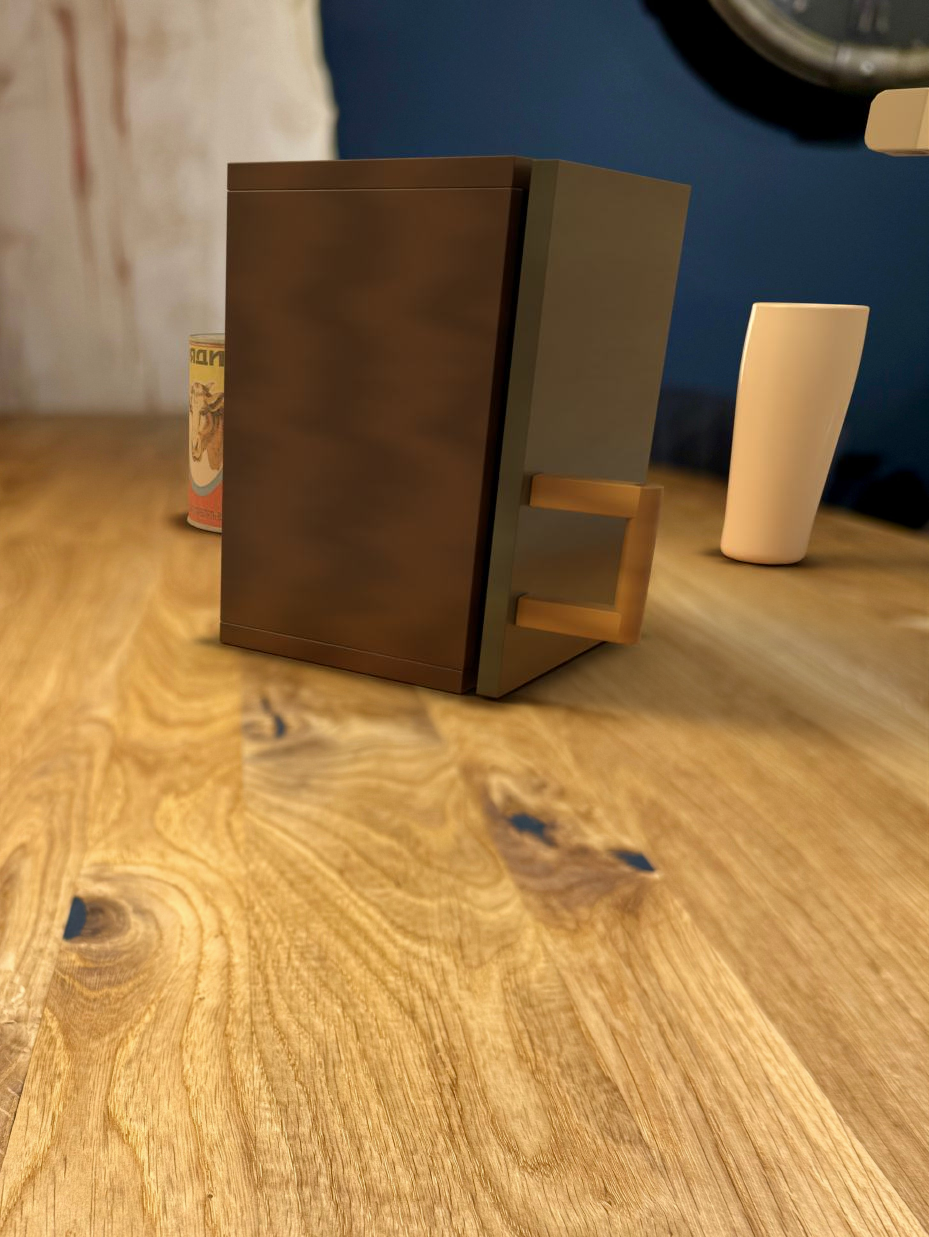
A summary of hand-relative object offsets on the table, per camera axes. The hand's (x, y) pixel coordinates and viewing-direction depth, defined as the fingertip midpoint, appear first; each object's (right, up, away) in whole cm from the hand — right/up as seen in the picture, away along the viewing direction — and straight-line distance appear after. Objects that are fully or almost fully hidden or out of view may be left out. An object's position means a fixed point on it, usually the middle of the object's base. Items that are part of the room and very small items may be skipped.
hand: (877, 124), depth 46 cm
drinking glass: (+11, -5, +39) cm, 41 cm away
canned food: (-21, 0, +47) cm, 51 cm away
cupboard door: (-6, -17, +13) cm, 22 cm away
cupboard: (-14, -14, +19) cm, 27 cm away
